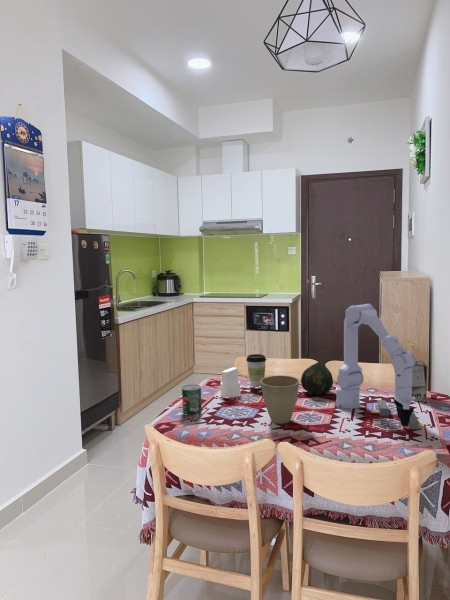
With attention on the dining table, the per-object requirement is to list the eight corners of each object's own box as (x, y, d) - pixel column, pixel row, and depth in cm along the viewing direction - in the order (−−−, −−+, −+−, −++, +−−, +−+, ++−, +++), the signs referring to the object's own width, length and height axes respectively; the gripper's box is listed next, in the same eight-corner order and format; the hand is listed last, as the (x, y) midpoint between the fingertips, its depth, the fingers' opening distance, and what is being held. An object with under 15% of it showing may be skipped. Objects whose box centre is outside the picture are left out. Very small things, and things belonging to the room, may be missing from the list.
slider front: (409, 429, 162) (409, 421, 162) (405, 418, 172) (405, 411, 172) (418, 429, 161) (418, 421, 161) (413, 419, 171) (413, 411, 171)
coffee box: (427, 403, 191) (427, 366, 189) (410, 403, 192) (410, 365, 191) (422, 396, 200) (422, 360, 198) (406, 396, 201) (406, 360, 200)
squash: (292, 384, 207) (313, 360, 203) (298, 376, 221) (319, 354, 217) (315, 406, 204) (338, 383, 200) (321, 397, 218) (342, 375, 214)
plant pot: (254, 417, 182) (253, 378, 181) (287, 411, 188) (286, 373, 186) (273, 430, 169) (272, 388, 167) (307, 423, 174) (306, 382, 173)
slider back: (380, 416, 176) (380, 408, 175) (377, 407, 185) (377, 400, 185) (388, 416, 175) (388, 408, 175) (385, 407, 185) (385, 400, 184)
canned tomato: (178, 413, 190) (177, 387, 189) (192, 408, 196) (191, 383, 195) (192, 417, 185) (190, 391, 184) (205, 412, 190) (204, 386, 189)
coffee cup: (245, 389, 220) (244, 358, 219) (248, 383, 230) (247, 353, 229) (266, 389, 219) (265, 358, 217) (267, 383, 228) (266, 353, 227)
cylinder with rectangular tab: (228, 391, 218) (227, 366, 217) (244, 393, 213) (243, 368, 212) (217, 396, 211) (216, 370, 210) (233, 399, 206) (232, 373, 205)
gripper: (419, 392, 158) (418, 430, 159) (411, 380, 172) (411, 415, 173) (397, 391, 159) (396, 429, 161) (391, 379, 173) (391, 414, 175)
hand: (402, 421), depth 167 cm, fingers open, 7 cm apart
